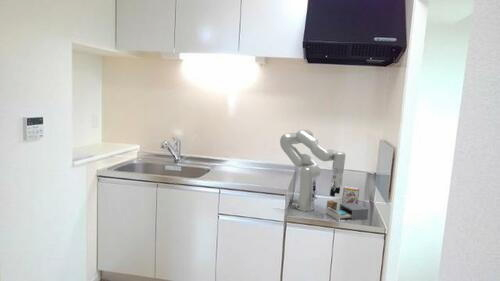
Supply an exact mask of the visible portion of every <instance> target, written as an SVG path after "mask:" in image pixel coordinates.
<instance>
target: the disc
mask: <svg viewBox="0 0 500 281" xmlns="http://www.w3.org/2000/svg"><path fill="white" fill-rule="evenodd" d="M335 211H337V212H339V213H341V216H344V215H345V213H346V212H345V211H342V210H340V209H336V210H335Z"/></svg>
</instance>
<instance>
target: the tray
mask: <svg viewBox="0 0 500 281" xmlns="http://www.w3.org/2000/svg"><path fill="white" fill-rule="evenodd" d="M326 214H327V215H328V216H330V217H332V218H333V219H335V220H337V221H338V220H340V221H341V219H349V218H351V214H349V213H347V212H346V213H345V215H344V216H341V213H339V212H337V211H336V210H334V209H332V208H330V207H327V206H326Z"/></svg>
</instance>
